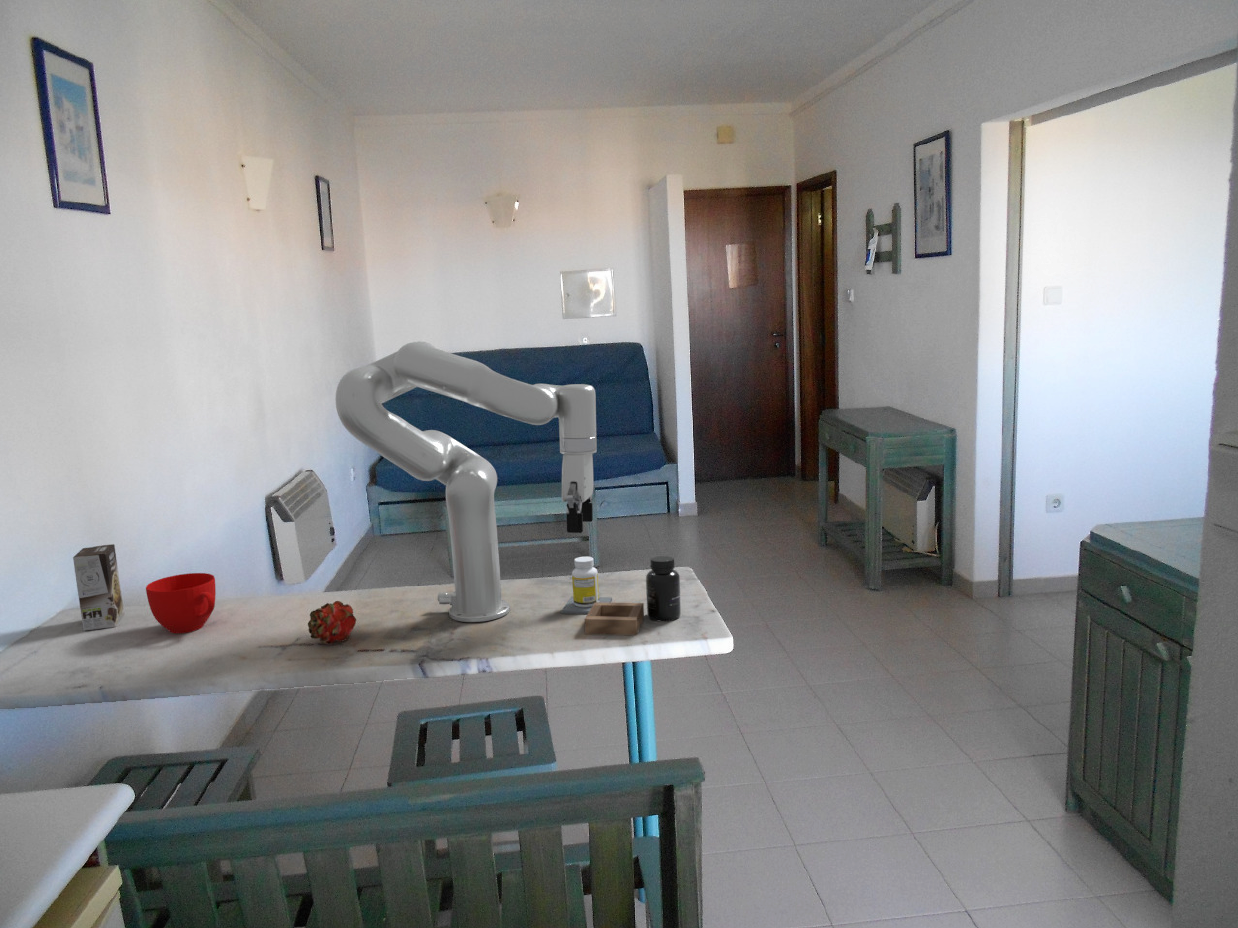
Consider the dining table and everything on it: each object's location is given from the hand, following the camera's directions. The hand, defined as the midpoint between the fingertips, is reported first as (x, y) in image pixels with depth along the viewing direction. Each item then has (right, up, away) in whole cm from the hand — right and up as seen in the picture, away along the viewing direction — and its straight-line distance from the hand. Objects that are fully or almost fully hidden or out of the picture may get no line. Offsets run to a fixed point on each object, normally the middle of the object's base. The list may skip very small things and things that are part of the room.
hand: (580, 526), depth 189 cm
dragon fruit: (-48, -22, -10) cm, 53 cm away
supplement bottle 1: (+1, -17, +3) cm, 17 cm away
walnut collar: (+7, -19, -9) cm, 22 cm away
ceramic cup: (-80, -22, 0) cm, 83 cm away
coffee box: (-103, -21, +7) cm, 105 cm away
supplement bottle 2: (+17, -18, -5) cm, 25 cm away
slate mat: (+1, -17, +3) cm, 17 cm away
